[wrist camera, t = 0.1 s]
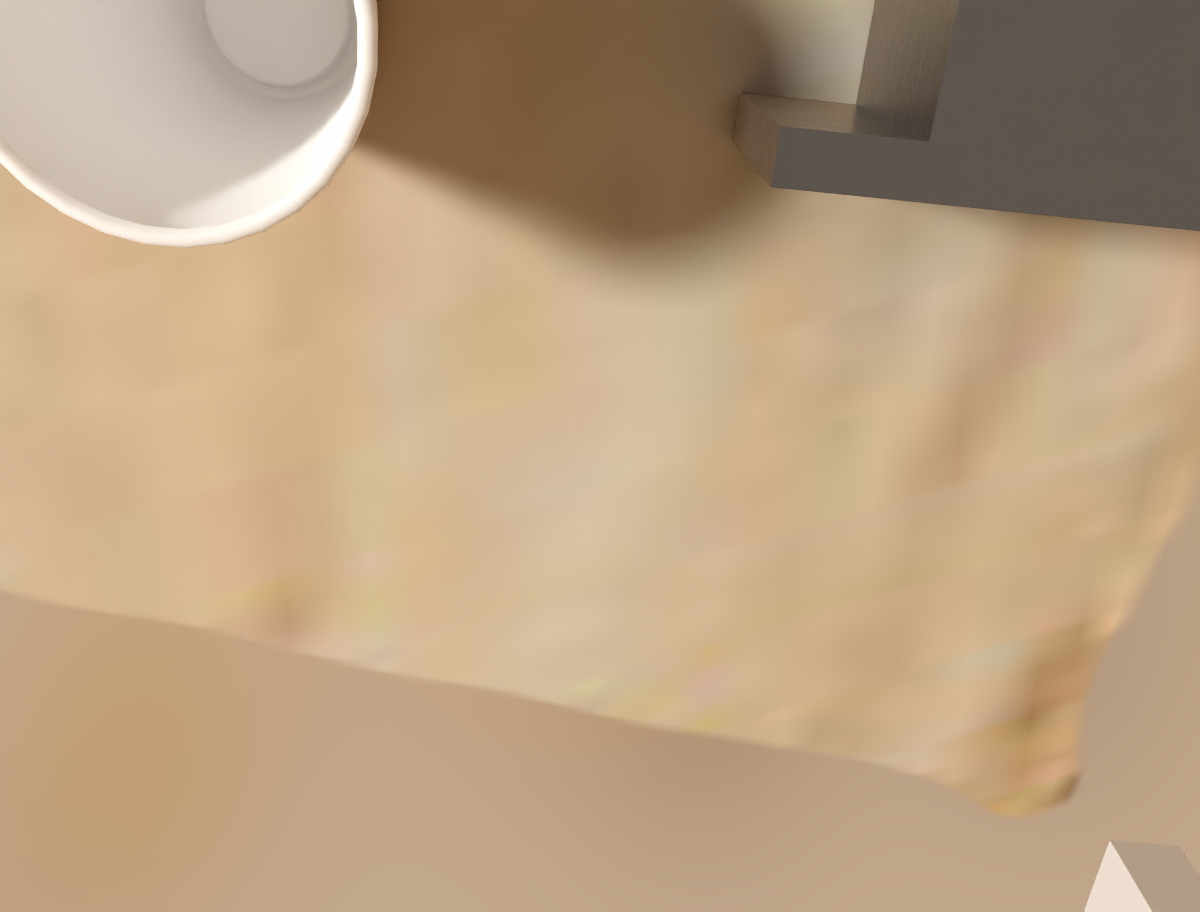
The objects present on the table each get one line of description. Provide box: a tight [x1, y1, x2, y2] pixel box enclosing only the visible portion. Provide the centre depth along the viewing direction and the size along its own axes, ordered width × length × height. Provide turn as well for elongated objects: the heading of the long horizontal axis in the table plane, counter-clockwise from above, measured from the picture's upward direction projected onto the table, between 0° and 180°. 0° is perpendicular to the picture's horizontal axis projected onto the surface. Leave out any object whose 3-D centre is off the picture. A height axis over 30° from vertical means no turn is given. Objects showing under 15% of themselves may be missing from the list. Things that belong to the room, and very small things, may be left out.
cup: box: [0, 0, 378, 248], centre depth 29 cm, size 10×10×11 cm
